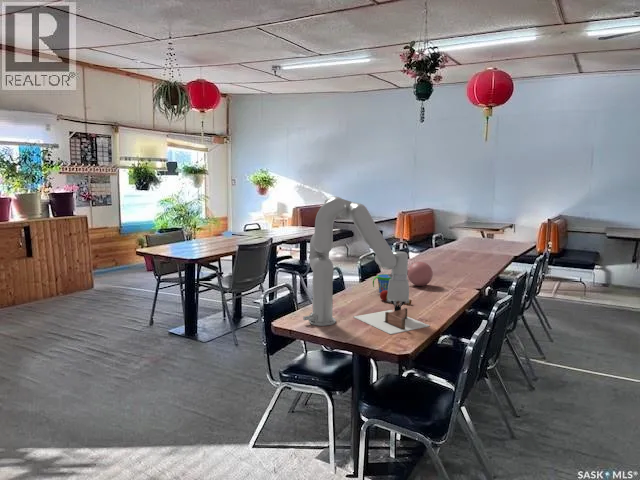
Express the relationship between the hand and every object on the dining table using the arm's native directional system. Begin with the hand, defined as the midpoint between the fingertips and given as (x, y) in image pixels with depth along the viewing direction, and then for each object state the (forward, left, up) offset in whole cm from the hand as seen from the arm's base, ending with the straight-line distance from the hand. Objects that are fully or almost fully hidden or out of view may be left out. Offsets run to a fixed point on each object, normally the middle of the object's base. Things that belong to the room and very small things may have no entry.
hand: (397, 314), depth 231 cm
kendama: (+18, +24, -3) cm, 30 cm away
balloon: (+54, +48, -2) cm, 72 cm away
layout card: (-6, -3, -2) cm, 7 cm away
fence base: (-9, -9, -2) cm, 13 cm away
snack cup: (+26, +43, -2) cm, 50 cm away
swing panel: (-2, -3, -1) cm, 4 cm away
